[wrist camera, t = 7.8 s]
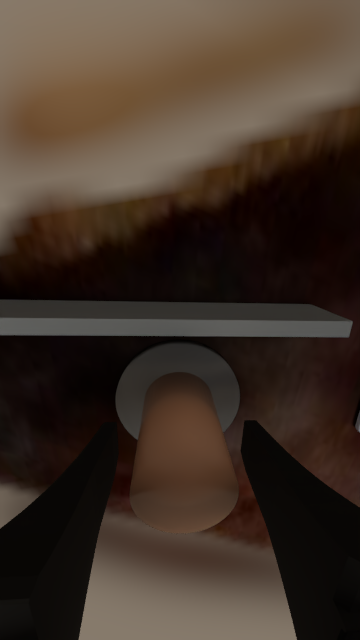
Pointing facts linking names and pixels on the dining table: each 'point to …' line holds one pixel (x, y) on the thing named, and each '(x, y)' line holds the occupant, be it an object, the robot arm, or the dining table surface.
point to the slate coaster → (170, 360)
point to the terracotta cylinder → (181, 458)
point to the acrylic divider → (168, 319)
